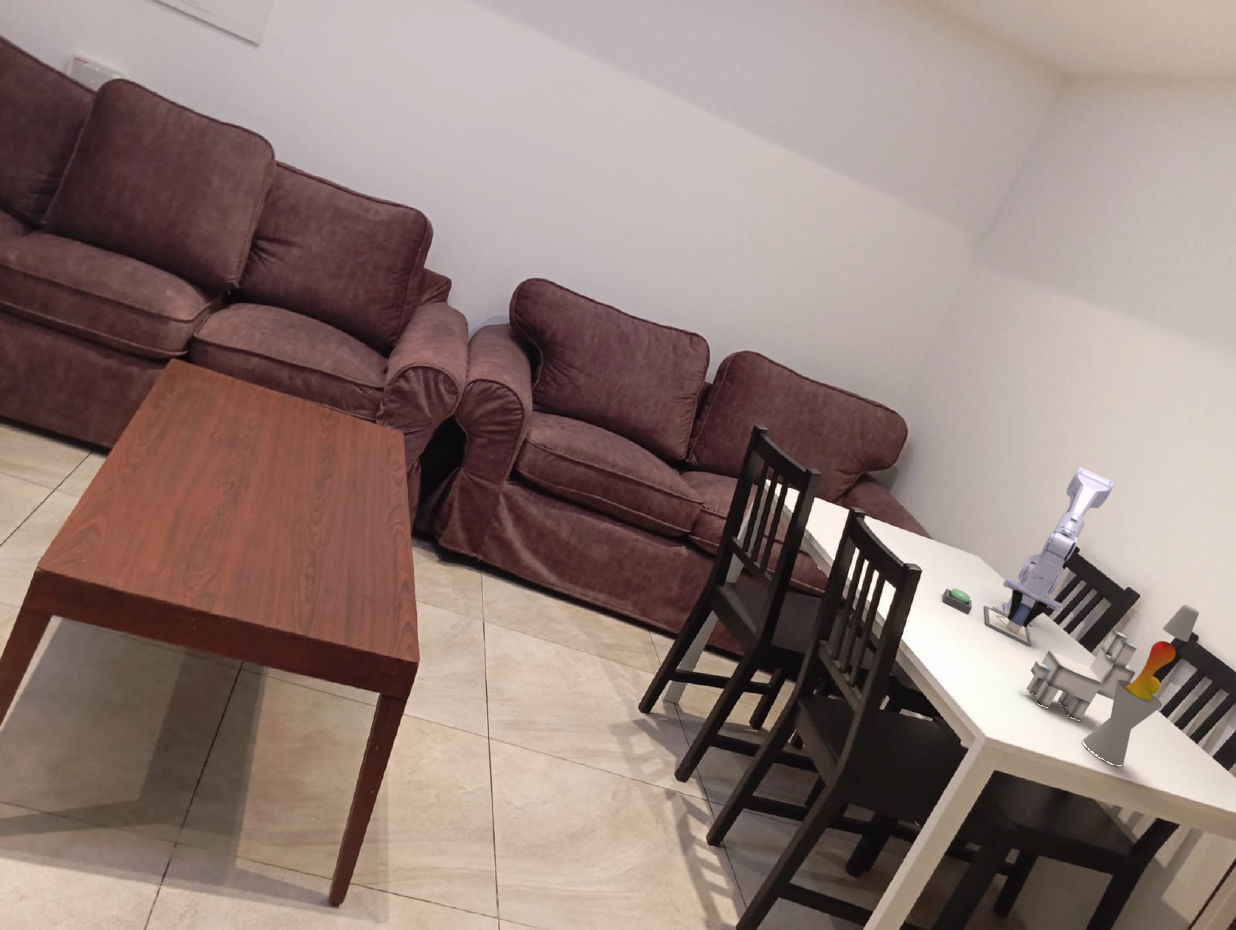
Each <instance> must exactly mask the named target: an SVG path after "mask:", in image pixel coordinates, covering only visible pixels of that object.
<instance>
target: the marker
mask: <svg viewBox="0 0 1236 930" xmlns="http://www.w3.org/2000/svg"><path fill="white" fill-rule="evenodd" d="M1031 611H1032V608H1031V607H1030V606H1028V605H1026V604H1024V603H1022V602H1021V603H1020V604H1019V606H1018V607H1017V609H1016V611H1015V613H1014V615H1013V617H1012V619H1011V620H1009V622H1008V624H1007V627H1008V628H1009V629H1010V630H1012V631H1014V632H1017V633H1019V632H1020V630H1021V628H1022V626H1023V625H1024V623H1025V621H1026V619H1027V618H1028V616H1029V614H1030V612H1031Z"/></svg>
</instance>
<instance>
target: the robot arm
mask: <svg viewBox="0 0 1236 930" xmlns="http://www.w3.org/2000/svg"><path fill="white" fill-rule="evenodd" d="M1114 486H1115V481H1114V480H1111V479H1108V478H1106V477H1104V476H1101V475H1100V474H1097V473H1095V472H1093V471H1090V470H1089V469H1086V468H1084V467H1083V466H1080V467H1077V469H1076V471H1075V473H1074V475H1073V476H1072V478H1071V480H1070V482H1069V484H1068V486H1067V488H1066V492H1065V493H1066V495H1067V496H1068V497H1069V498H1070V499H1069V504H1068V505H1069V506H1068V508H1067V509H1066V512H1064V513H1063V514H1062V515H1061V517H1060V519H1059V521H1058V522H1057V524H1056V526H1055V528H1054V529H1053V531H1052V532H1050V534H1049V536H1048V538H1046V541H1045V543H1044V545H1043V547H1042V550H1041V552H1037V553H1032V554H1031V555H1029V556H1028V557H1027V559H1026V561H1025V563H1024V564H1023V566H1022V568H1021V570H1020V571H1019V573H1018V576H1017V578H1018V580H1020V581H1019V582H1018V581H1015V580H1012V579H1010V578H1008V577H1006V578H1005V580H1004V581H1003V583H1002V585H1003V587H1005V588H1007V589H1010V590H1012V593H1011V596H1010V598H1009V600H1008V602H1006V601H1004V602H1003V609H1004V610H1003V611H1005V612H1007V613H1009V614H1008V619H1009V620H1011V619H1012V617H1013V615H1014V613H1015V611H1016V609H1017V607H1018V606H1019V604H1020V603H1021V602H1022V603H1024V604H1026V605H1028V606H1030V607H1031V608H1032V611H1031V612H1030V614H1029V616H1028V618H1027V619H1026V621H1025V623H1024V625H1023V627H1025V628H1026V627H1028V626H1031V627H1032V626H1034V622H1033V620H1035V619H1036V618H1037V617H1039V616H1041V614H1044V613H1045V612H1046V611H1047V610H1048V609H1047V608H1050V609H1052V610H1054V611H1055V612H1056V613H1059V611H1060V610H1061V608H1062V603H1060V602H1058V601H1056V600H1054V599H1053V598H1051V597H1049V596H1047V595H1053V593H1055V590H1056V589H1057V588H1058V585H1059V583H1060V581H1061V579H1062V577H1063V574H1064V570H1065V569H1064V568H1063V566H1064V565H1065V562H1067V561H1068V560H1069V559H1070V558H1071V556H1072V554H1073V553H1074V551H1075V549H1076V547H1077V542H1078V540H1079V537H1080V534H1081V532H1082V531H1083V529H1084V527H1085V520H1084V516H1085V515H1086V513H1087V512H1088V511H1089V510H1090V509H1099V508H1100V507H1102V506H1103V504H1104V503H1105V502H1106V501H1107V499H1108V497H1109V495H1110V494H1111V493H1112V491H1113V489H1114ZM1065 558H1066V559H1065Z"/></svg>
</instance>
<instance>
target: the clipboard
mask: <svg viewBox="0 0 1236 930" xmlns="http://www.w3.org/2000/svg"><path fill="white" fill-rule="evenodd" d="M1008 614H1009V613H1007V612H1005V611H1004V610H1003V609H1001V608H999V607H998V606H994V605H993V606H992V607H989V606H986V605H984V606H983V615H984V616H983V617H984V619H983V620H984V626H986V627H988V628H990V629H992V630H995V631H996V632H999V633H1001V634H1002V635H1004V636H1006V637H1008V636H1009V637H1008V638H1011V639H1013V640H1014V639H1015V640H1014V641H1017V642H1018V643H1021V644H1023V645H1025V646H1026V647H1028V648H1031V647H1032V642H1031V637H1030V634H1029V629H1028V628H1029V627H1028V626H1027V627H1026V628H1025V627H1023V626H1022V628H1021V630H1020V632H1019V633H1017V632H1014V631H1012V630H1010V629H1009V628H1008V627H1007V624H1008V622H1009V619H1008Z"/></svg>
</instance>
